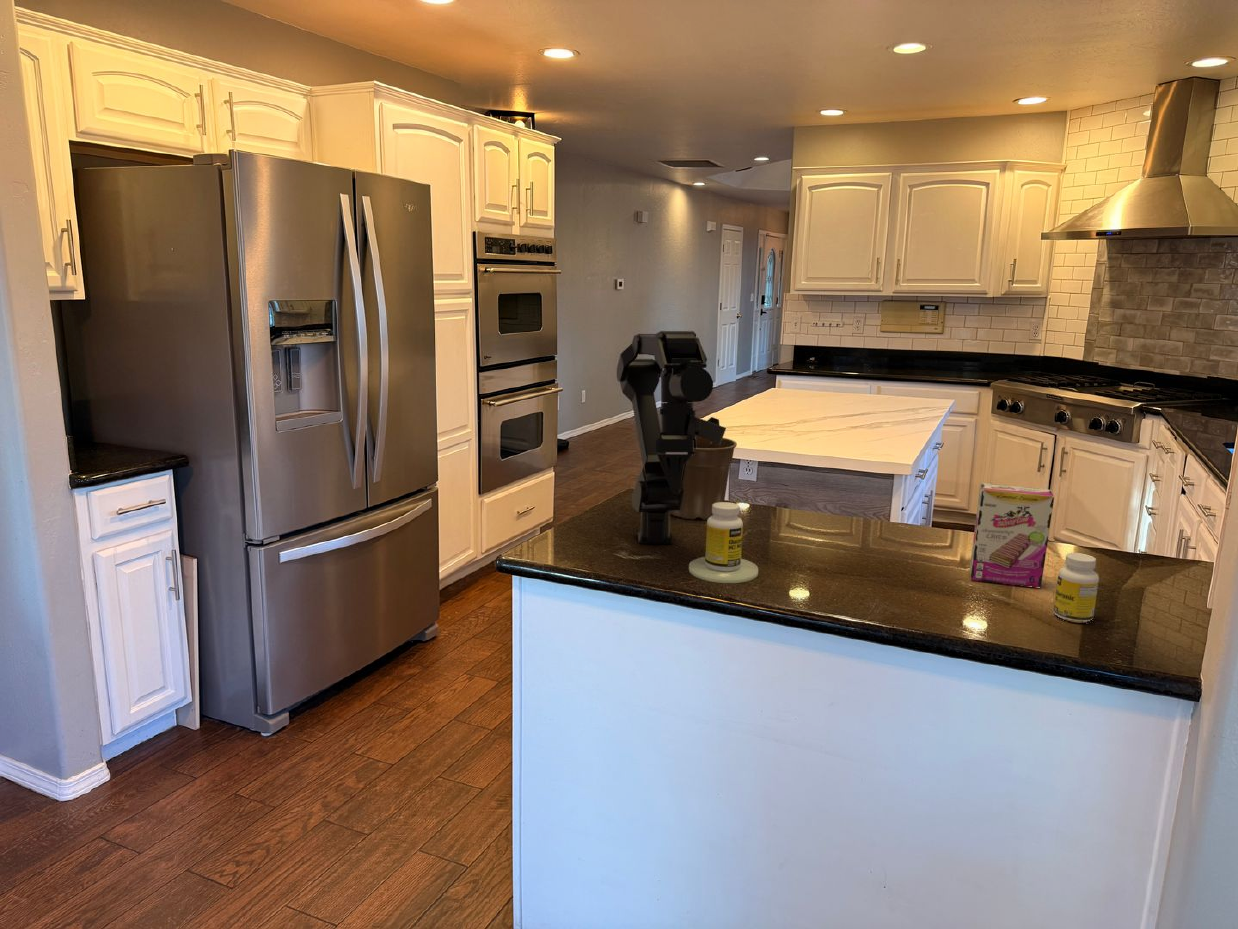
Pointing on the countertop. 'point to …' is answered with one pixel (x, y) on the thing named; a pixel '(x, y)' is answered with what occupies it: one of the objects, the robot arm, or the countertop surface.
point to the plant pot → (705, 478)
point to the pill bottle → (724, 537)
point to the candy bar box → (1011, 534)
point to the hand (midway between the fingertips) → (677, 491)
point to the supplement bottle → (1076, 588)
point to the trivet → (723, 572)
